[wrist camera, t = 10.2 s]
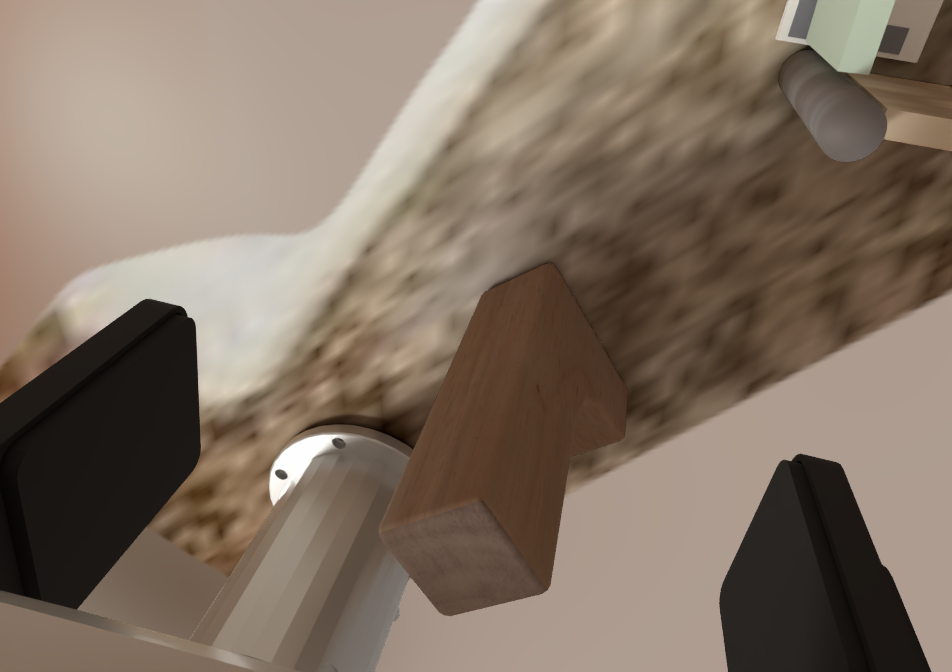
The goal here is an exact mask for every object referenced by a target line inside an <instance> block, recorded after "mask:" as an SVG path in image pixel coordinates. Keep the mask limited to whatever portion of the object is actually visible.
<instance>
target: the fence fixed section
mask: <svg viewBox="0 0 952 672" xmlns="http://www.w3.org/2000/svg"><path fill="white" fill-rule="evenodd" d="M778 81H779V86H780V88H781V90H782V91H783V93H784V94H785V96H786V97H787V99H788V100H789V102H790V103H791V105H792V106H793V108H794V109H795V111H796V112H797V114H798V115H799V117H800V118H801V120H802V121H803V123H804V124H805V126H806V127H807V129H808V130H809V131H810V133H811V134H812V136H813V137H814V139H815V140H816V142H817V143H818V145H819V146H820V148H821V149H822V151H823V152H824V153H825V154H826V155H827V156H828V157H830V158H831V159H833V160H836V161H840V162H853V161H857V160H860V159H863V158H865V157H867V156H868V155H870V154H871V153H872V152H874V151H875V150H876V149H877V148H878V147H879V145H880V144H881V143H882V141H883V139H885V140H891V141H897V142H902V143H908V144H913V145H919V146H925V147H930V148H936V149H941V150H947V151H952V85H951V86H944V85H938V84H932V83H926V82H920V81H914V80H908V79H902V78H896V77H890V76H884V75H878V74H873V73H870V74H869V75H864V74H855V73H847V72H839V71H837V70H836V69H835V68H834V67H832V66H831V65H830V64H829V63H828V62H827V61H826V60H825V59H824V58H823V57H822V56H821V55H819V54H818V53H817V52H816V51H814V50H802V51H799V52H797V53H795V54H793V55H791V56H790V57H789V58H788V59H787V60H786V61H785V62H784V63H783V65H782V67H781V69H780V72H779V76H778Z"/></svg>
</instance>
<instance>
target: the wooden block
mask: <svg viewBox="0 0 952 672" xmlns="http://www.w3.org/2000/svg"><path fill="white" fill-rule="evenodd" d="M626 409H627V389H626V387H625V385H624V383H623V382H622V380H621V378H620V376H619V375H618V373H617V371H616V370H615V368H614V366H613V364H612V363H611V361H610V359H609V357H608V356H607V354H606V352H605V351H604V349H603V347H602V345H601V344H600V342H599V340H598V338H597V337H596V335H595V333H594V332H593V330H592V328H591V326H590V325H589V323H588V321H587V319H586V318H585V316H584V314H583V313H582V311H581V309H580V307H579V306H578V304H577V302H576V301H575V299H574V297H573V295H572V294H571V292H570V290H569V288H568V287H567V285H566V283H565V282H564V280H563V278H562V276H561V275H560V273H559V271H558V270H557V268H556V267H555V266H554V265H553V264H552V263H547V264H544V265H542V266H540V267H538V268H536V269H533V270H531V271H529V272H527V273H525V274H523V275H520V276H518V277H516V278H514V279H512V280H509V281H507V282H505V283H503V284H501V285H499V286H496V287H494V288H492V289H490V290H488V291H486V292H484V293H483V295H482V296H481V298H480V300H479V303H478V305H477V307H476V309H475V312H474V314H473V316H472V318H471V321H470V323H469V325H468V327H467V330H466V332H465V334H464V336H463V339H462V341H461V343H460V345H459V348H458V350H457V352H456V354H455V357H454V359H453V361H452V363H451V366H450V368H449V370H448V373H447V375H446V377H445V379H444V382H443V384H442V386H441V388H440V391H439V393H438V395H437V397H436V400H435V402H434V404H433V406H432V409H431V411H430V413H429V415H428V418H427V420H426V422H425V424H424V427H423V429H422V431H421V434H420V436H419V438H418V440H417V443H416V445H415V447H414V449H413V452H412V454H411V456H410V458H409V461H408V463H407V465H406V467H405V470H404V472H403V474H402V476H401V479H400V481H399V483H398V485H397V488H396V490H395V492H394V494H393V497H392V499H391V501H390V503H389V506H388V508H387V510H386V512H385V515H384V517H383V519H382V521H381V524H380V526H379V536H380V539H381V541H382V542H383V543H384V544H385V546H386V547H387V548H388V549H389V551H390V552H391V553H392V554H393V556H394V557H395V558H396V559H397V561H398V562H399V563H400V564H401V565H402V567H403V568H404V569H405V570H406V572H407V573H408V574H409V575H410V577H411V578H412V579H413V580H414V582H415V583H416V584H417V585H418V587H419V588H420V589H421V590H422V591H423V593H424V594H425V595H426V596H427V598H428V599H429V600H430V601H431V602H432V604H433V605H434V606H435V607H436V609H437V610H438V611H439V612H440V613H442V614H443V615H447V616H452V615H457V614H461V613H465V612H469V611H473V610H477V609H482V608H486V607H490V606H494V605H498V604H502V603H506V602H510V601H515V600H518V599H523V598H527V597H531V596H535V595H540V594H542V593H544V592H545V591H547V590H548V588H549V586H550V584H551V577H552V571H553V565H554V558H555V552H556V545H557V539H558V532H559V526H560V519H561V513H562V507H563V500H564V494H565V487H566V481H567V474H568V468H569V461H570V457H572V456H575V455H578V454H581V453H584V452H587V451H590V450H593V449H596V448H599V447H602V446H606V445H609V444H612V443H615V442H618V441H620V440H622V439H623V438H624V437H625V427H626Z"/></svg>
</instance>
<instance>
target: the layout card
mask: <svg viewBox="0 0 952 672" xmlns="http://www.w3.org/2000/svg"><path fill="white" fill-rule="evenodd" d="M817 1H818V0H787V3H786V6H785V9H784V12H783V15H782V19H781V22H780V25H779V28H778V31H777V34H776V37H775V39H776V40H781V41H787V42H793V43H799V44H805V45H809V44H808V43H807V42H805V41H806V38H807V34H808V31H809V28H810V24H811V21H812V18H813V14H814V11H815V8H816V4H817ZM943 1H944V0H895V3H894V6H893V9H892V12H891V15H890V17H889V20H888V23H887V26H886V29H885V32H884V34H883V37H882V40H881V43H880V46H879V49H878V51H877V54H876V56H877V57H883V58H889V59H895V60H901V61H907V62H913V63H917V62H918V59H919V57H920V55H921V52H922V50H923V48H924V45H925V43H926V41H927V38H928V36H929V34H930V31H931V29H932V27H933V24H934V22H935V20H936V17H937V15H938V13H939V10H940V8H941V6H942V3H943Z"/></svg>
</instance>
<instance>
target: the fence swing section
mask: <svg viewBox="0 0 952 672" xmlns="http://www.w3.org/2000/svg"><path fill="white" fill-rule="evenodd" d="M894 3H895V0H818V1H817V4H816V8H815V11H814V14H813V18H812V21H811V24H810V28H809V31H808V34H807V38H806V41H805V42H807V43H808V44H809V45H810V46H811V47H812V48H813V49H814V50H815V51H816V52H817V53H818V54H819V55H821V56H822V57H823V58H824V59H825V60H826V61H827V62H828V63H829V64H830V65H831V66H832V67H834V68H835V69H836V70H837V71H839V72H847V73H855V74H864V75H869V74H870V71H871V69H872V66H873V63H874V60H875V57H876V54H877V51H878V49H879V46H880V43H881V40H882V37H883V34H884V32H885V29H886V26H887V23H888V20H889V17H890V15H891V12H892V9H893V6H894Z"/></svg>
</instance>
